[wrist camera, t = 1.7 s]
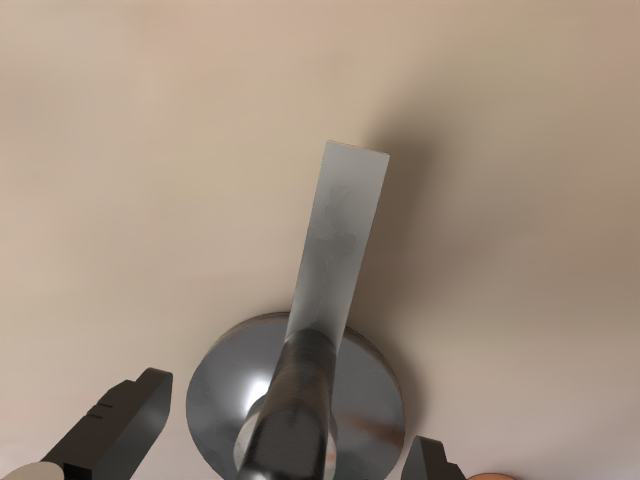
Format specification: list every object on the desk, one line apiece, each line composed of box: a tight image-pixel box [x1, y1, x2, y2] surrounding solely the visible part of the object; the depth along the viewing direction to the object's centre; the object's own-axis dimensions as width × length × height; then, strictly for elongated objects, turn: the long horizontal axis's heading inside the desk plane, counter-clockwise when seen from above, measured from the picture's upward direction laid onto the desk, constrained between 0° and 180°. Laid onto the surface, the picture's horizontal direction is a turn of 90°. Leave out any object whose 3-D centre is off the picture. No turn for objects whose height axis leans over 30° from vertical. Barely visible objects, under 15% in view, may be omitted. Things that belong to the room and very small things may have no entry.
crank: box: [233, 140, 390, 480], centre depth 14 cm, size 20×5×8 cm, turn 168°
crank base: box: [186, 312, 405, 480], centre depth 21 cm, size 12×12×2 cm
